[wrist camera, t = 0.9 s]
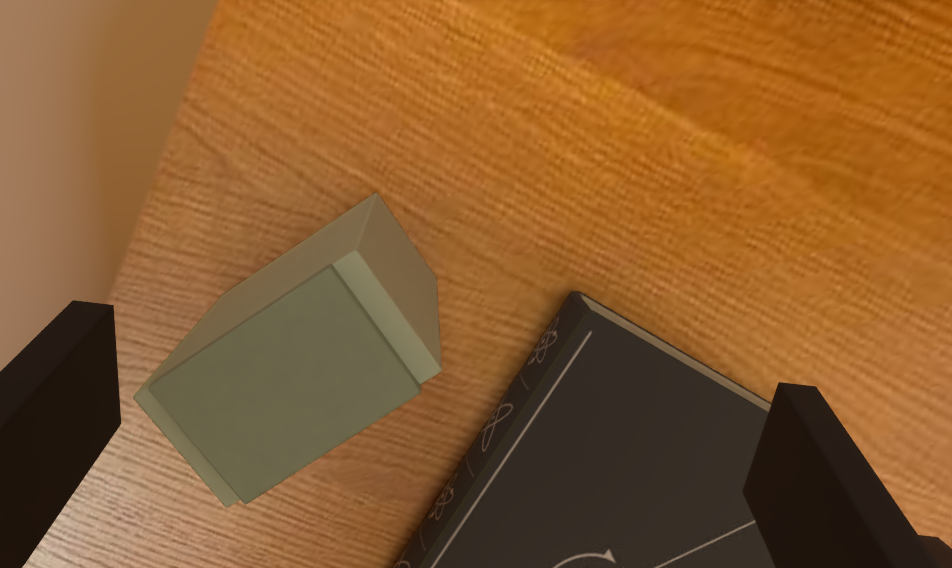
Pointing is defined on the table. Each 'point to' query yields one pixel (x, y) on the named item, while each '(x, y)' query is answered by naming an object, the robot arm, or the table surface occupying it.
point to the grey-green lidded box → (300, 355)
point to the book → (603, 461)
